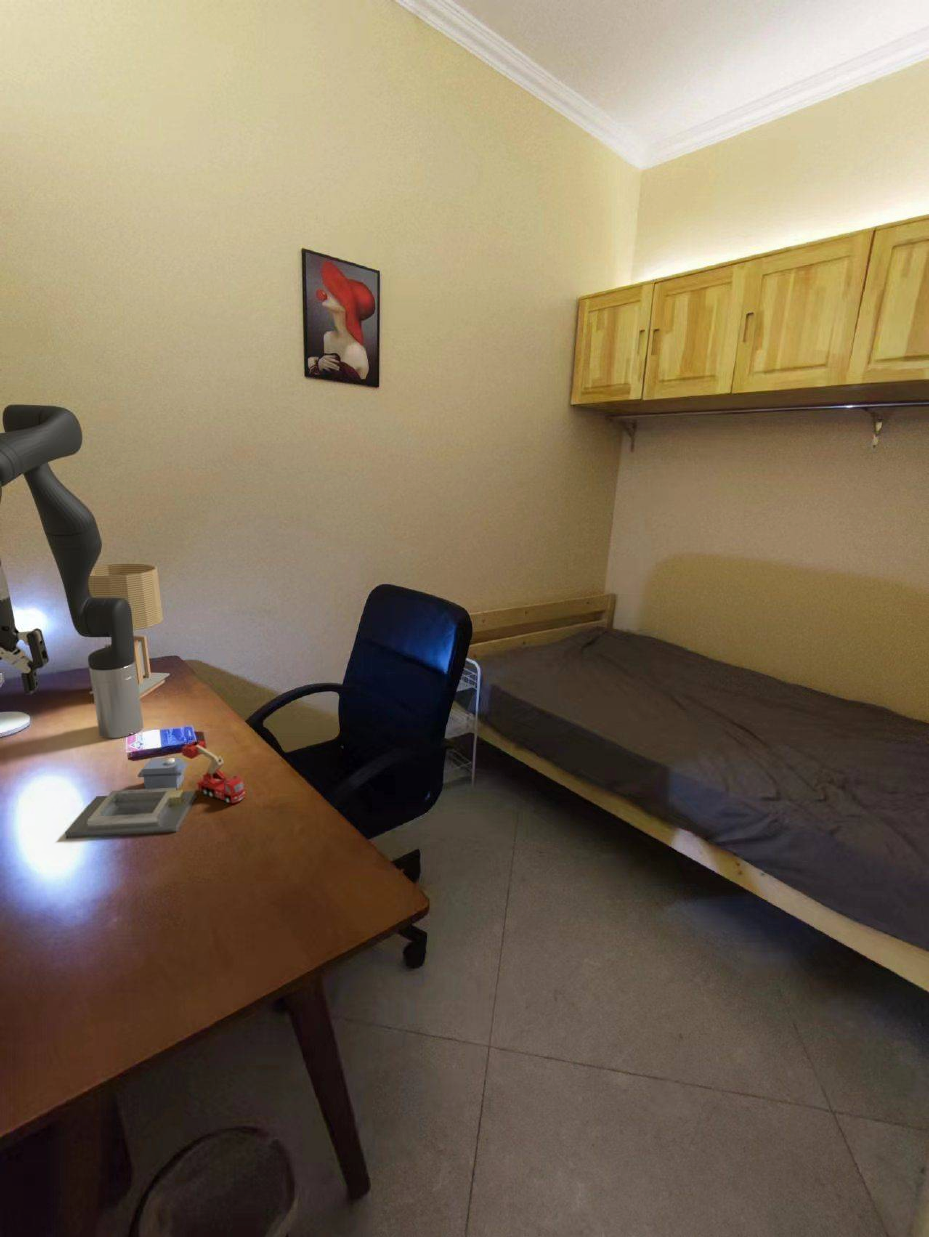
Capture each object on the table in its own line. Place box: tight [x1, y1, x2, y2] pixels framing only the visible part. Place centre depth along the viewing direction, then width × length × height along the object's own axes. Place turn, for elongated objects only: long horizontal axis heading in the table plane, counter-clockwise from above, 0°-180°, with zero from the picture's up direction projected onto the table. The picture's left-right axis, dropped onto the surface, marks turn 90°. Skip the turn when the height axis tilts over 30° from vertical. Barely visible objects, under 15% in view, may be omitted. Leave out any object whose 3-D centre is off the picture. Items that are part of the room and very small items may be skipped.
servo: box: [137, 757, 189, 790], centre depth 110 cm, size 4×8×6 cm, turn 99°
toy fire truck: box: [181, 740, 246, 804], centre depth 108 cm, size 3×14×10 cm, turn 65°
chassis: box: [64, 788, 197, 840], centre depth 100 cm, size 11×18×3 cm, turn 99°
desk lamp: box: [88, 563, 170, 699], centre depth 152 cm, size 20×20×35 cm
